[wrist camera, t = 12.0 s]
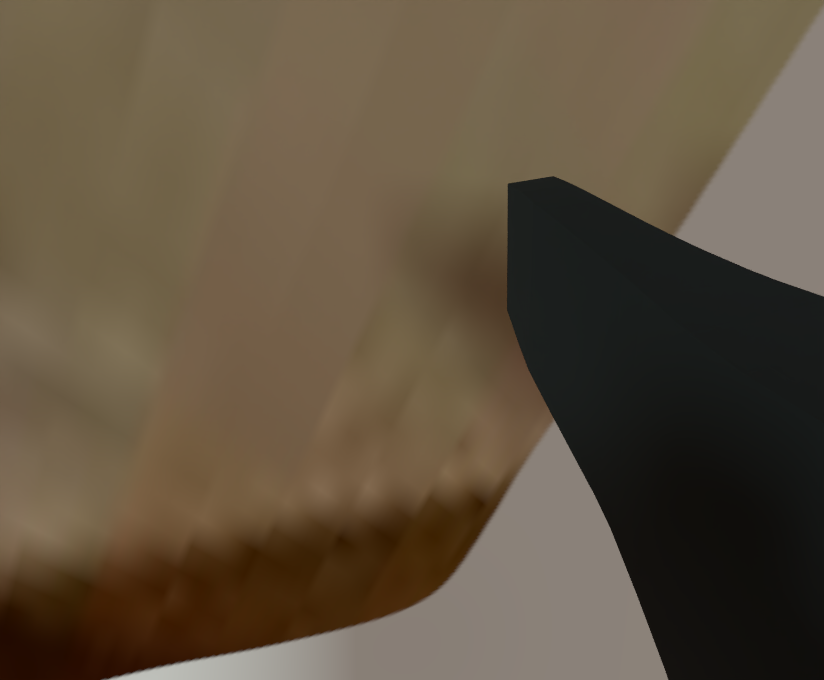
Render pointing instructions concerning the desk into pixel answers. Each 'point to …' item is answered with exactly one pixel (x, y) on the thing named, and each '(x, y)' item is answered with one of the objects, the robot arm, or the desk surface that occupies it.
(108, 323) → the desk surface
